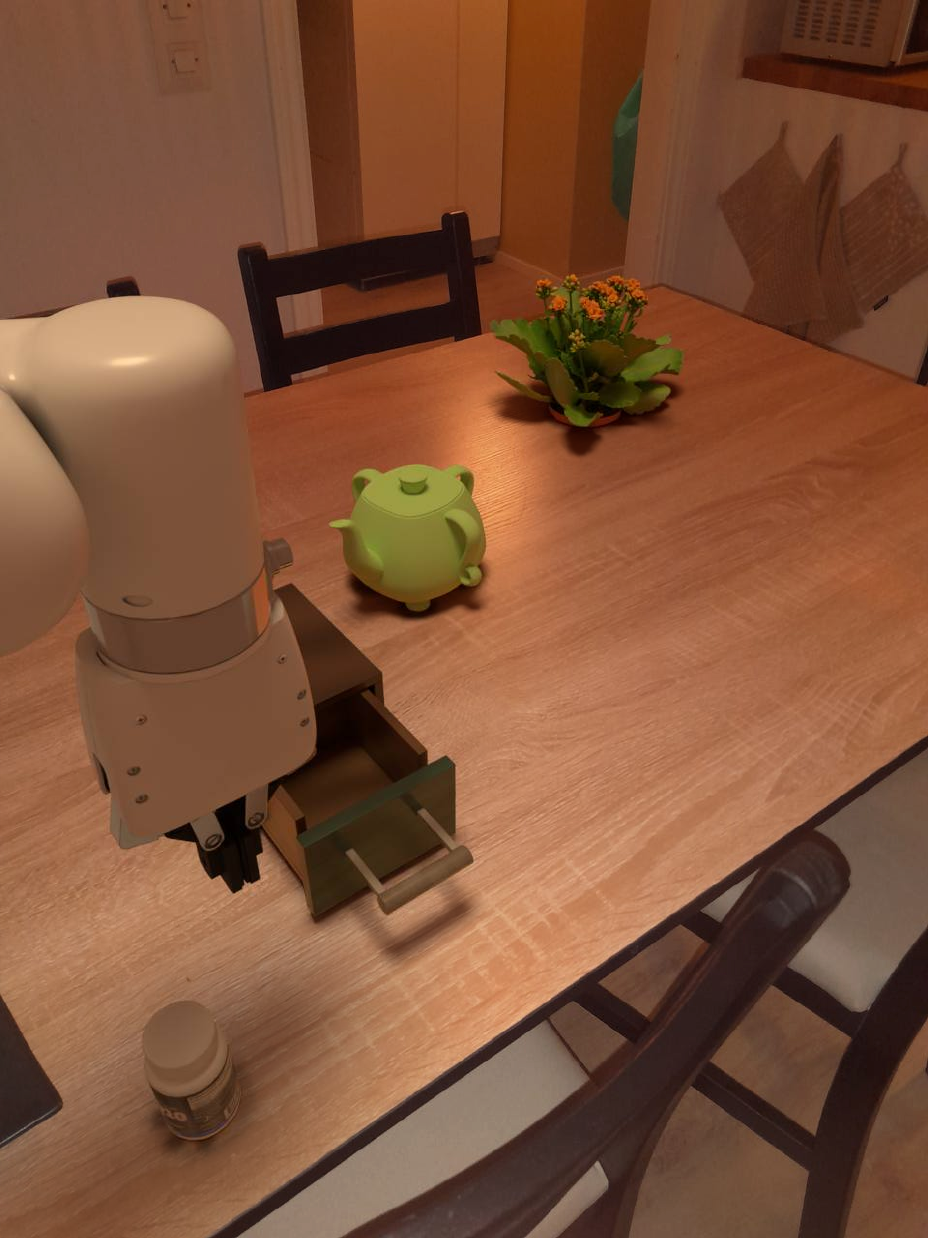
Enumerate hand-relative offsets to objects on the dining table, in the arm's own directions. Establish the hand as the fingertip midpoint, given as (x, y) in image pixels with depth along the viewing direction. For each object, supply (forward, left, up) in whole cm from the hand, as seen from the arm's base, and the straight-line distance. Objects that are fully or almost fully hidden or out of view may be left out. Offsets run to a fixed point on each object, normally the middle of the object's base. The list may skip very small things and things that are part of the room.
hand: (234, 869), depth 53 cm
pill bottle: (-6, -2, -17) cm, 18 cm away
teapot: (+34, +35, -17) cm, 51 cm away
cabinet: (+12, +23, -17) cm, 31 cm away
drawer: (+12, +9, -16) cm, 22 cm away
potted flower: (+74, +53, -17) cm, 93 cm away
